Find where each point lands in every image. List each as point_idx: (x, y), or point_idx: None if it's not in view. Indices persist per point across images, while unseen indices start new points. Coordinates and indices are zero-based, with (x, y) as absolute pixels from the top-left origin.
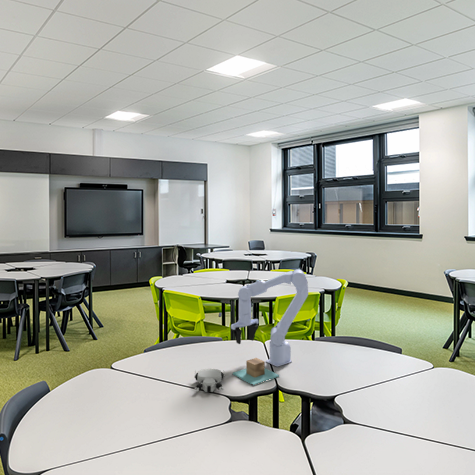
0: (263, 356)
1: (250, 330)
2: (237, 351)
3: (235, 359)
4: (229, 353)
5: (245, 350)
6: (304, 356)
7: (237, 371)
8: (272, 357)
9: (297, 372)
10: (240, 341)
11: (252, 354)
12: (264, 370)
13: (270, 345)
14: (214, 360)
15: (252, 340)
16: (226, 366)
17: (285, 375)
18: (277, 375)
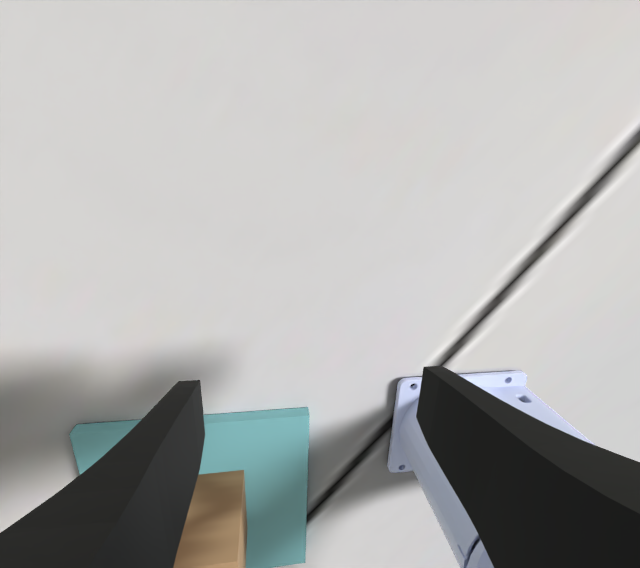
0: (460, 298)
1: (522, 499)
2: (394, 56)
3: (255, 212)
4: (299, 41)
5: (464, 94)
6: (607, 429)
7: (113, 433)
8: (415, 468)
9: (411, 547)
10: (191, 478)
11: (435, 215)
12: (245, 552)
13: (467, 537)
14: (57, 92)
15: (417, 419)
16: (103, 286)
17: (341, 549)
18: (293, 563)
